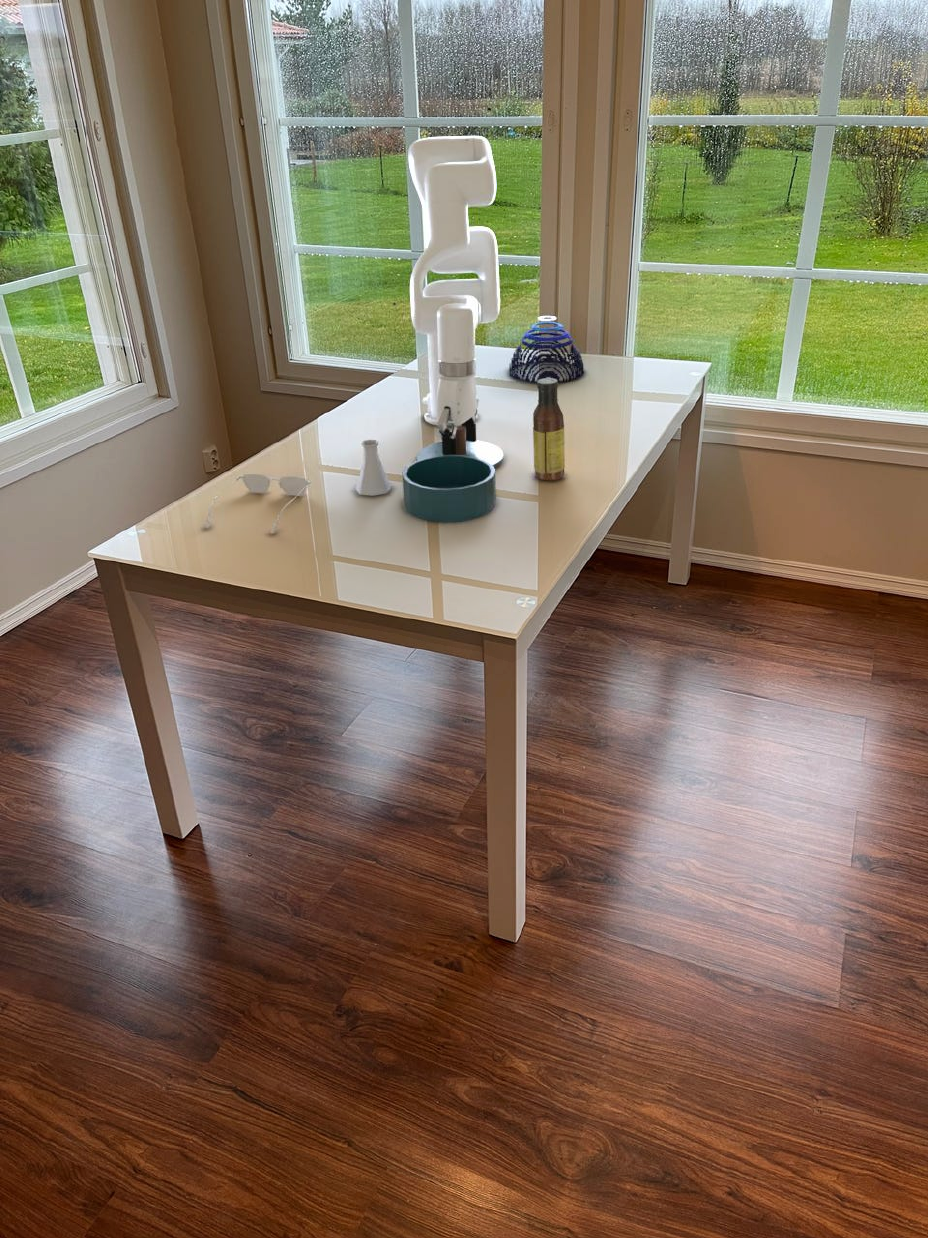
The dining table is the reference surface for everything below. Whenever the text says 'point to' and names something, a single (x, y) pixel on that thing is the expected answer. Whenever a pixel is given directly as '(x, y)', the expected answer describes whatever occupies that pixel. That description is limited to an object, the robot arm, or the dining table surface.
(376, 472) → the flask
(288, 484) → the eyeglasses
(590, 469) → the dining table surface
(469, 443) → the lid
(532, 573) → the dining table surface
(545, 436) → the sauce bottle
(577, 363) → the decorative bowl
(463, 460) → the pot
